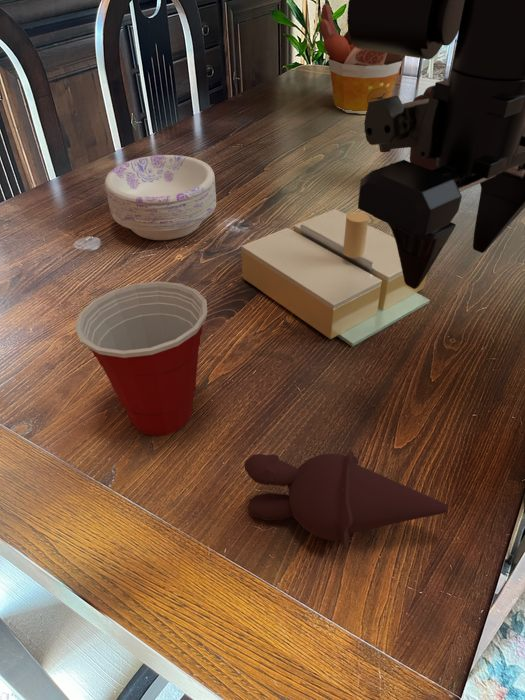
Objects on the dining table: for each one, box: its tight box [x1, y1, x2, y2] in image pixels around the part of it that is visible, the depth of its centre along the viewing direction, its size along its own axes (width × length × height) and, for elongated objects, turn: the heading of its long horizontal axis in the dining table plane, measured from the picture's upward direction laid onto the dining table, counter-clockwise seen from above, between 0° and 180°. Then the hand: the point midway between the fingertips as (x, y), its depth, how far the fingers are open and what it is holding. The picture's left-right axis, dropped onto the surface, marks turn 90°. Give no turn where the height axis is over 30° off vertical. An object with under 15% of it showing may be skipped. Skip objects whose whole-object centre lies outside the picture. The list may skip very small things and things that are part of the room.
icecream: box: [244, 449, 449, 549], centre depth 41 cm, size 7×7×15 cm
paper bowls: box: [104, 154, 217, 241], centre depth 79 cm, size 15×15×8 cm
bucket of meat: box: [318, 3, 406, 111], centre depth 119 cm, size 20×16×20 cm
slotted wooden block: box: [240, 208, 431, 348], centre depth 67 cm, size 20×16×5 cm
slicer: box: [300, 211, 374, 275], centre depth 65 cm, size 12×2×10 cm, turn 38°
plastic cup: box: [74, 280, 208, 437], centre depth 49 cm, size 11×11×12 cm
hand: (446, 267), depth 48 cm, fingers open, 9 cm apart
